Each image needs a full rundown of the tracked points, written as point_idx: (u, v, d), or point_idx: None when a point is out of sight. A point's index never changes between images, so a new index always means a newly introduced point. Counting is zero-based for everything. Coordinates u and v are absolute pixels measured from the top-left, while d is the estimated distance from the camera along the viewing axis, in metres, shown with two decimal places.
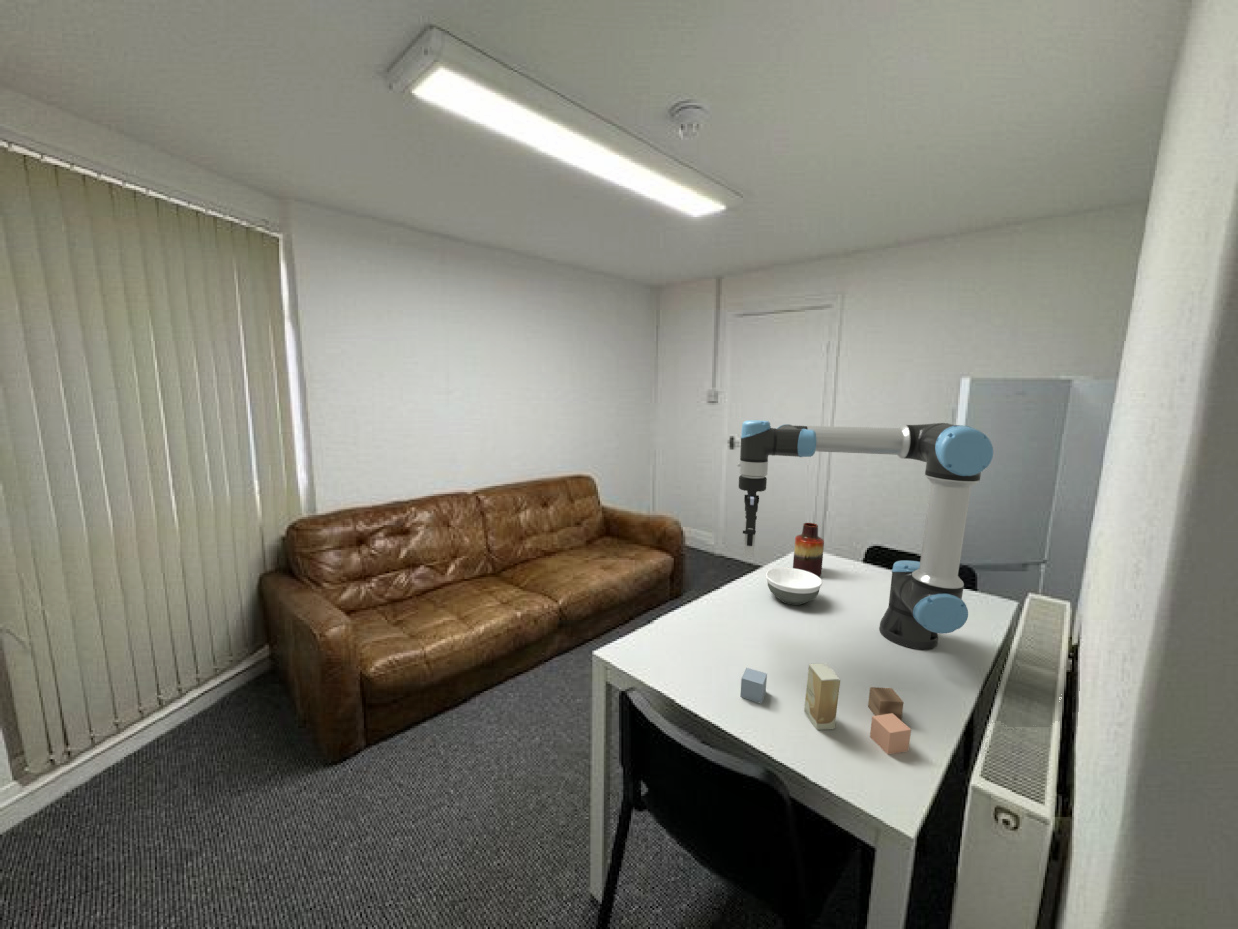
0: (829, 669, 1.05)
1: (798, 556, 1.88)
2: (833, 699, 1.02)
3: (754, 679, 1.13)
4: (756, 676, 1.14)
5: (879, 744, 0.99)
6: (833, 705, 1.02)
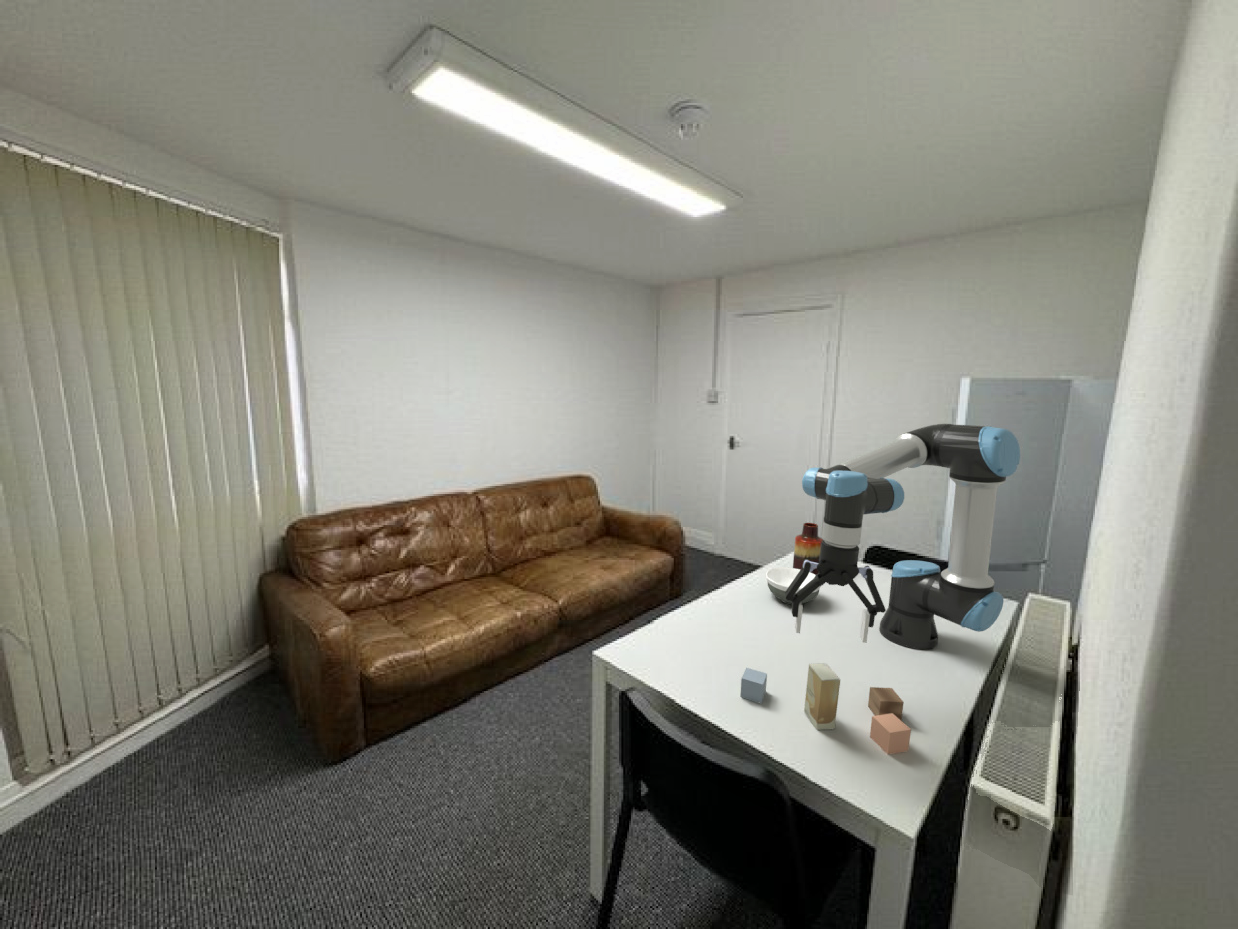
0: (829, 669, 1.05)
1: (798, 556, 1.88)
2: (833, 699, 1.02)
3: (754, 679, 1.13)
4: (756, 676, 1.14)
5: (879, 744, 0.99)
6: (833, 705, 1.02)
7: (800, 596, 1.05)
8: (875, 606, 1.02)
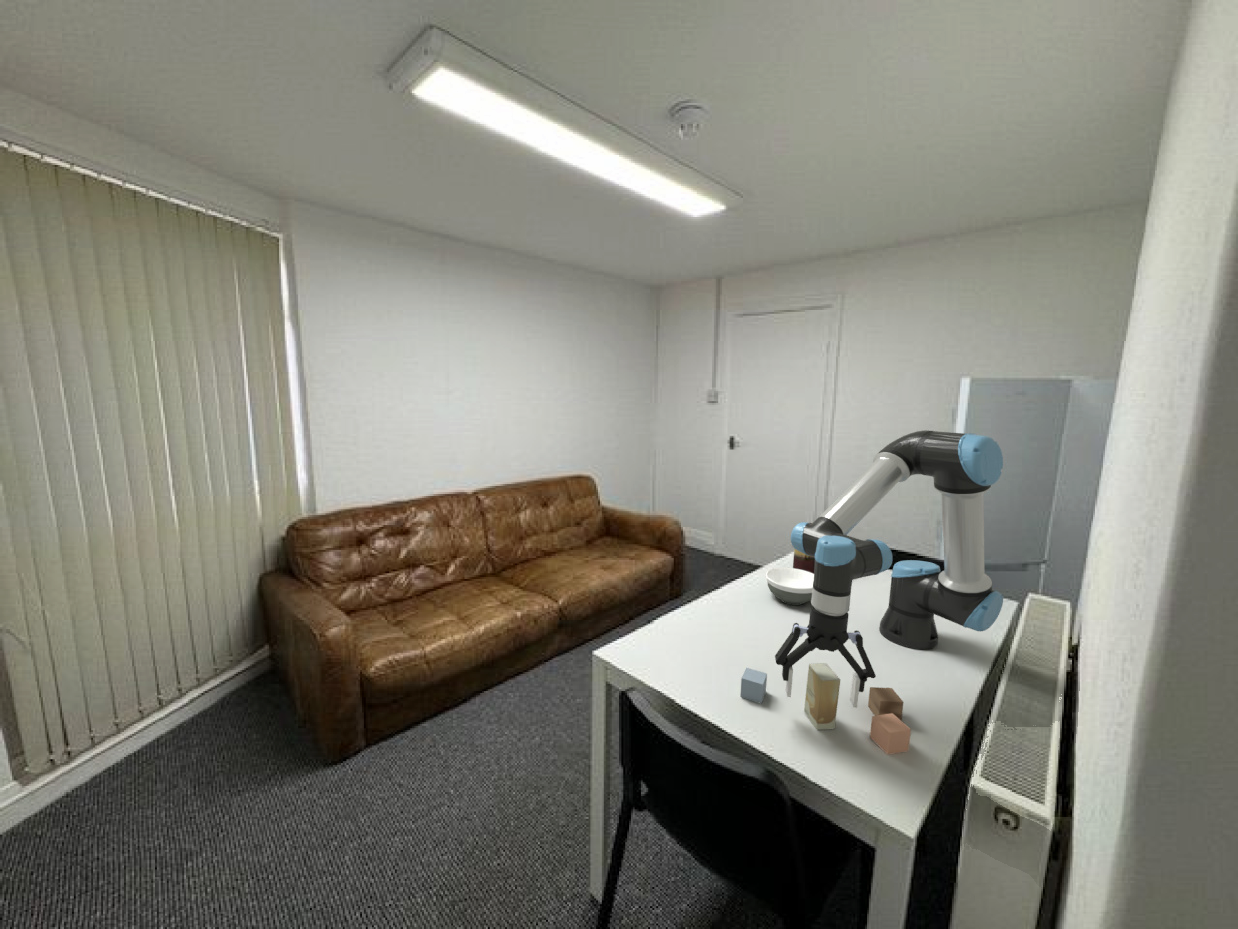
0: (829, 669, 1.05)
1: (798, 556, 1.88)
2: (833, 699, 1.02)
3: (754, 679, 1.13)
4: (756, 676, 1.14)
5: (879, 744, 0.99)
6: (833, 705, 1.02)
7: (790, 661, 1.04)
8: (865, 671, 1.02)
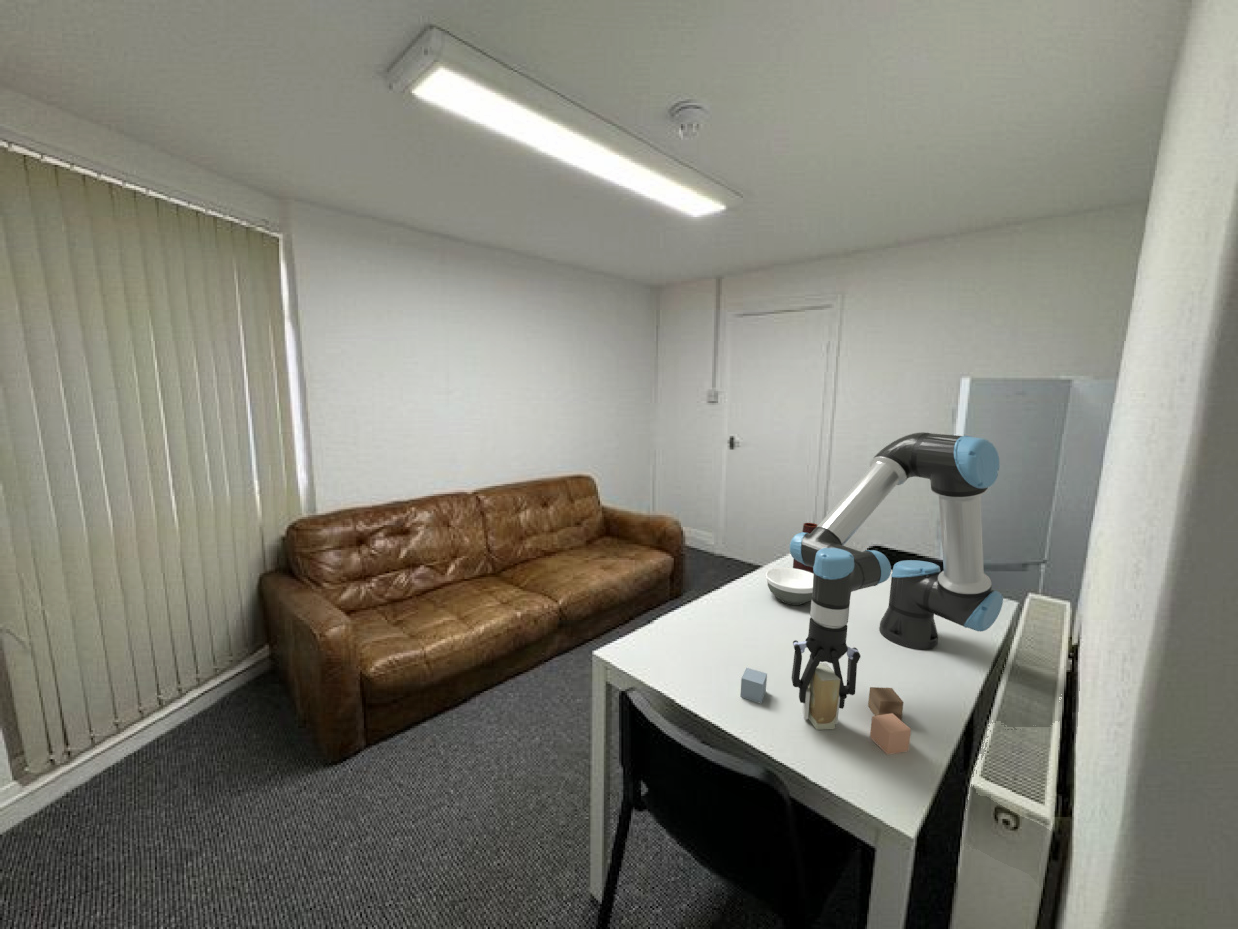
0: (829, 669, 1.05)
1: None
2: (833, 699, 1.02)
3: (754, 679, 1.13)
4: (756, 676, 1.14)
5: (879, 744, 0.99)
6: (833, 705, 1.02)
7: (804, 682, 1.04)
8: (845, 688, 1.03)
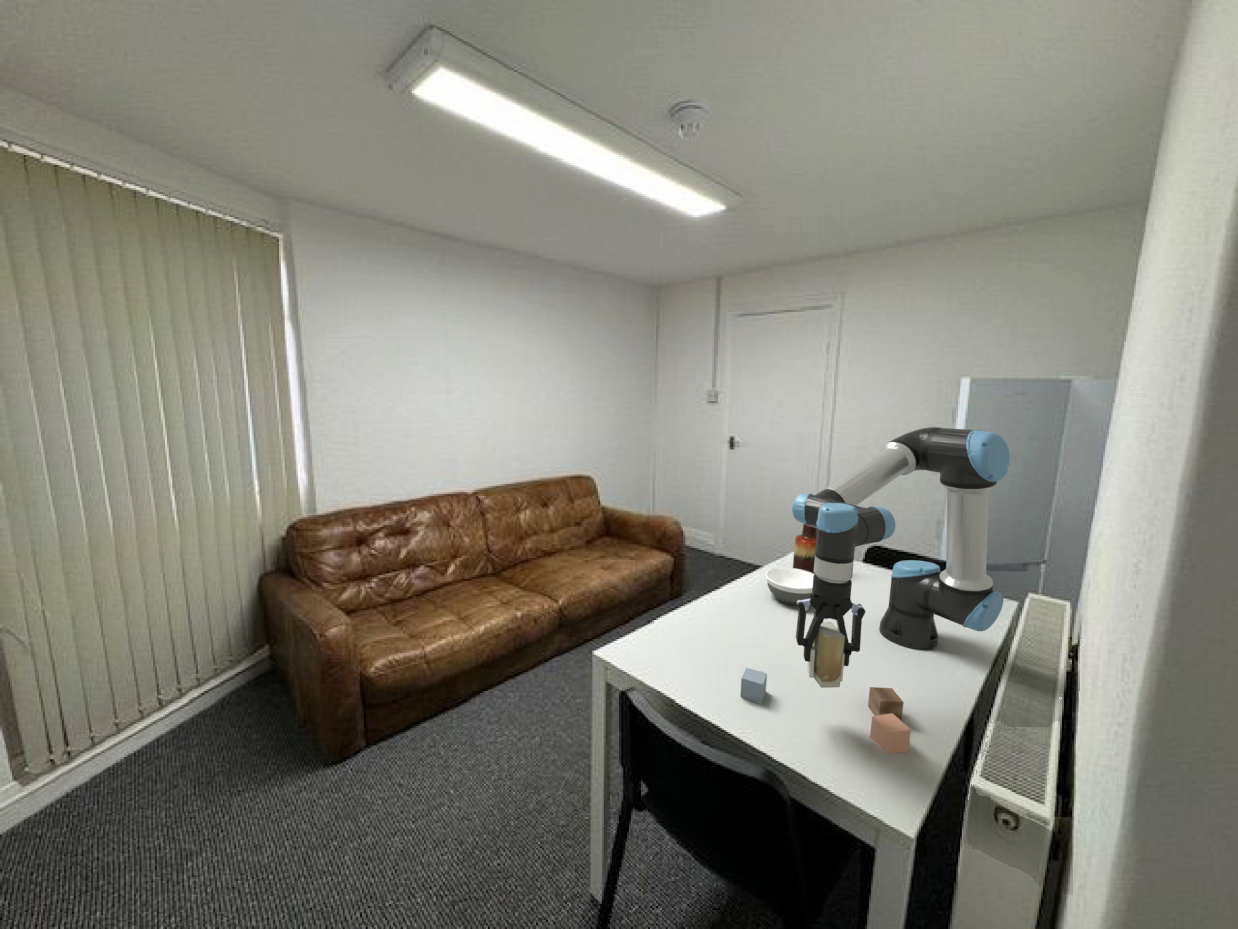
0: (834, 627, 1.03)
1: (798, 556, 1.88)
2: (838, 657, 1.01)
3: (754, 679, 1.13)
4: (756, 676, 1.14)
5: (879, 744, 0.99)
6: (837, 663, 1.01)
7: (809, 640, 1.03)
8: (850, 645, 1.02)
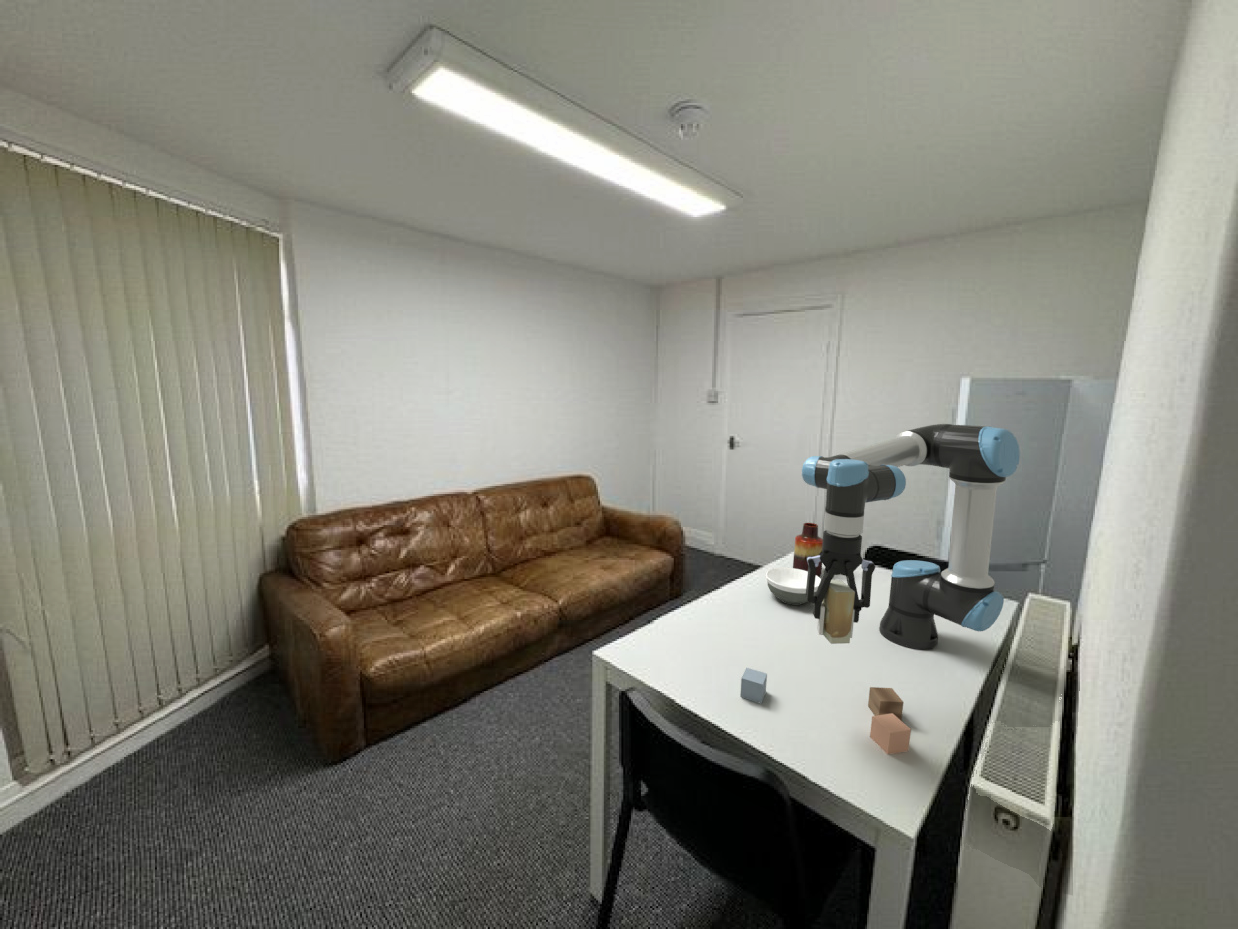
0: (843, 584, 1.03)
1: (798, 556, 1.88)
2: (848, 612, 1.01)
3: (754, 679, 1.13)
4: (756, 676, 1.14)
5: (879, 744, 0.99)
6: (847, 618, 1.01)
7: (819, 597, 1.03)
8: (860, 602, 1.02)
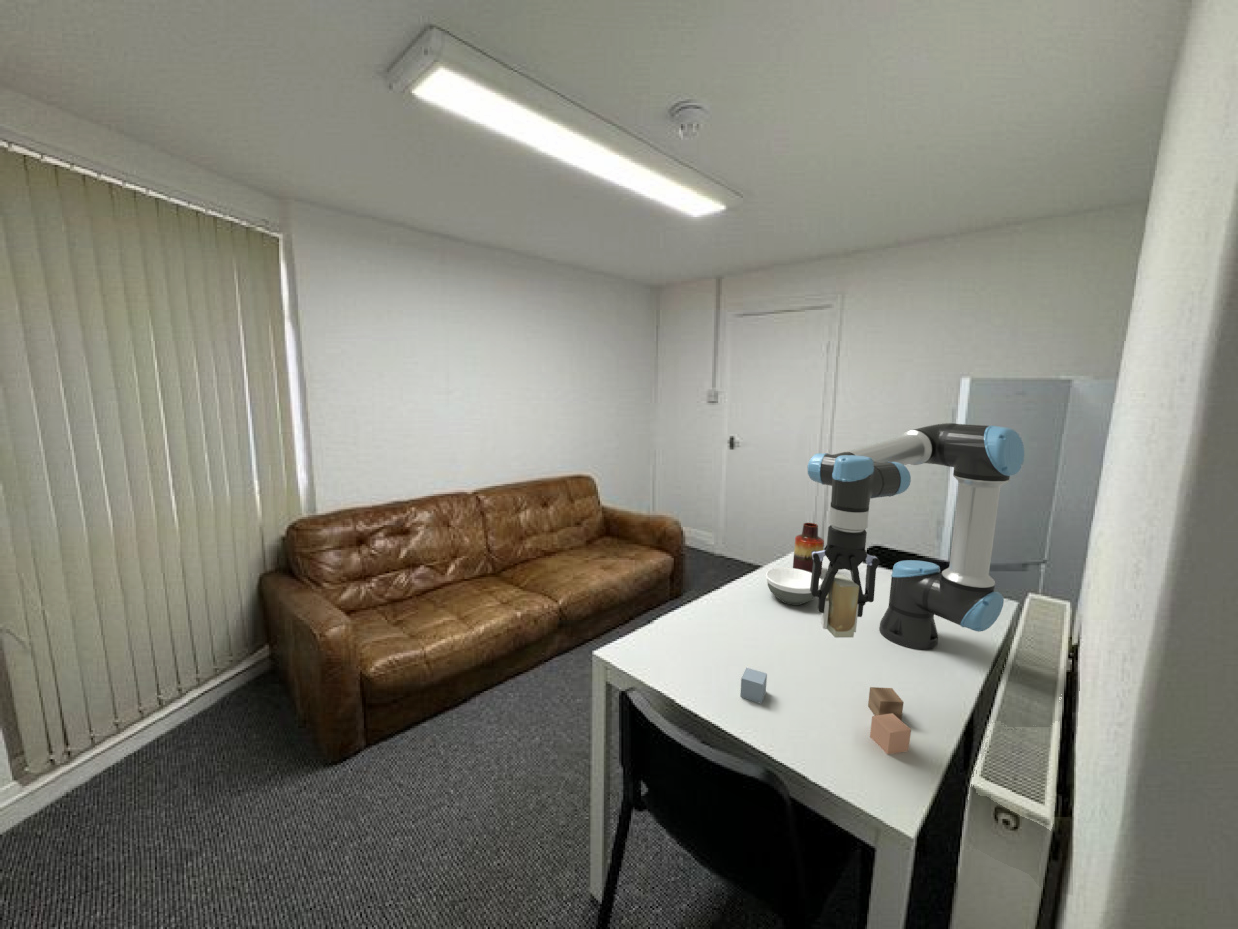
0: (848, 578, 1.05)
1: (798, 556, 1.88)
2: (852, 606, 1.02)
3: (754, 679, 1.13)
4: (756, 676, 1.14)
5: (879, 744, 0.99)
6: (851, 612, 1.02)
7: (823, 591, 1.04)
8: (864, 596, 1.04)
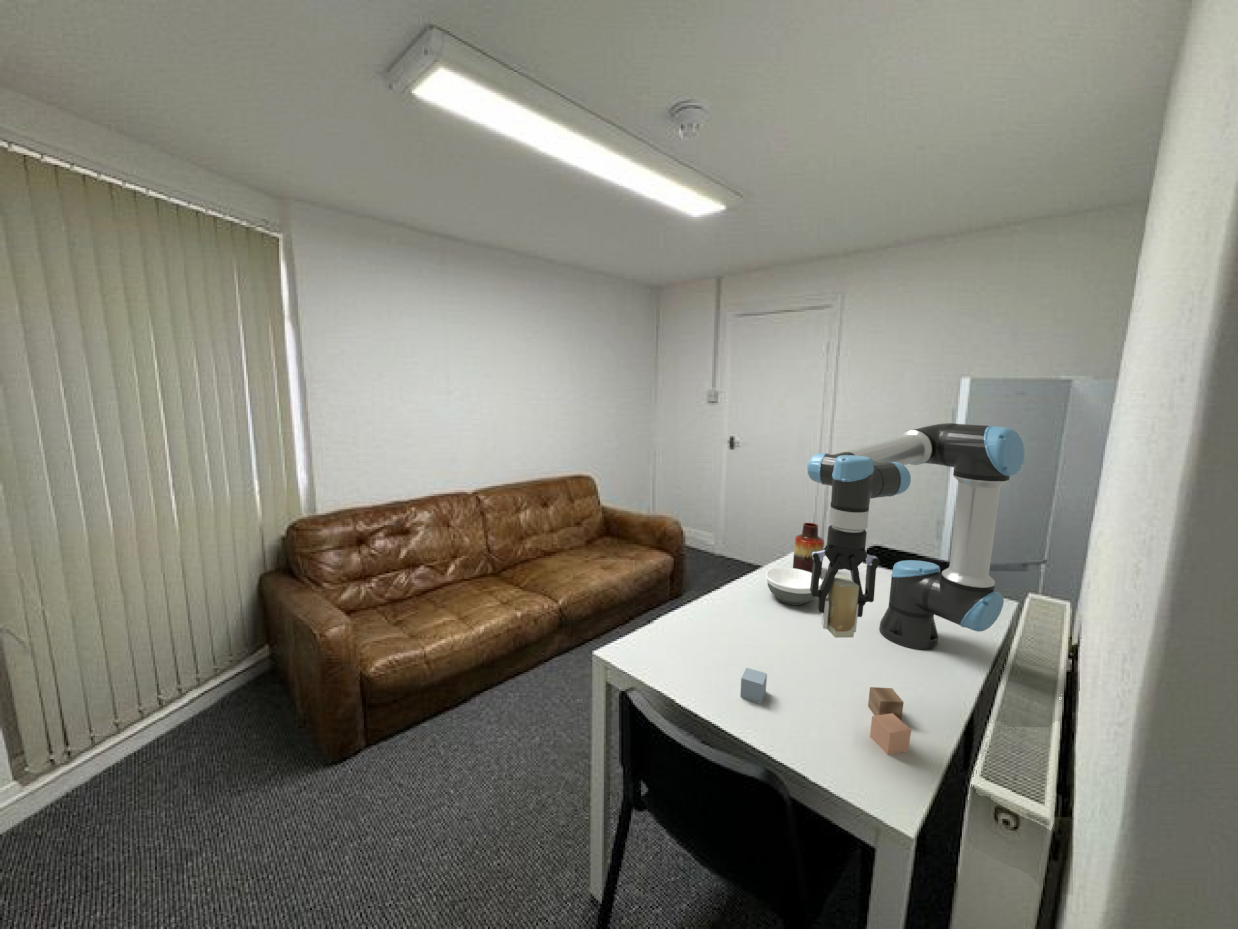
0: (848, 578, 1.05)
1: (798, 556, 1.88)
2: (852, 606, 1.02)
3: (754, 679, 1.13)
4: (756, 676, 1.14)
5: (879, 744, 0.99)
6: (851, 612, 1.02)
7: (823, 591, 1.04)
8: (864, 596, 1.04)
